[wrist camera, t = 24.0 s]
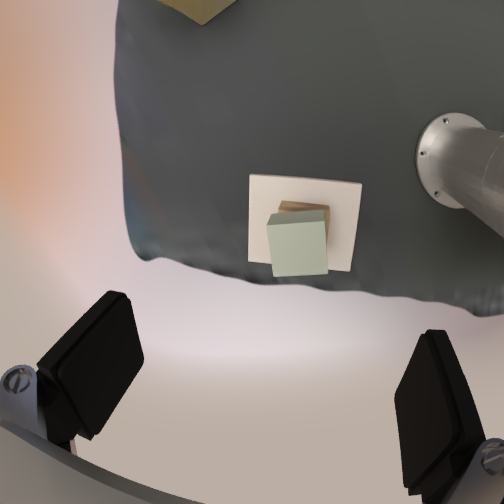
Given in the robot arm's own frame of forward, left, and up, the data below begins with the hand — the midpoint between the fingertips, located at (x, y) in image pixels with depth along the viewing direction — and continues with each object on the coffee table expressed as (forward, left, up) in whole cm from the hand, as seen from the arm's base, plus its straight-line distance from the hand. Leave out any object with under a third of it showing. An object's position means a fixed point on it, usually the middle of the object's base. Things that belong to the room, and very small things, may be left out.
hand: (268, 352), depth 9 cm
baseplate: (0, +7, -32) cm, 33 cm away
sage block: (0, +7, -27) cm, 28 cm away
